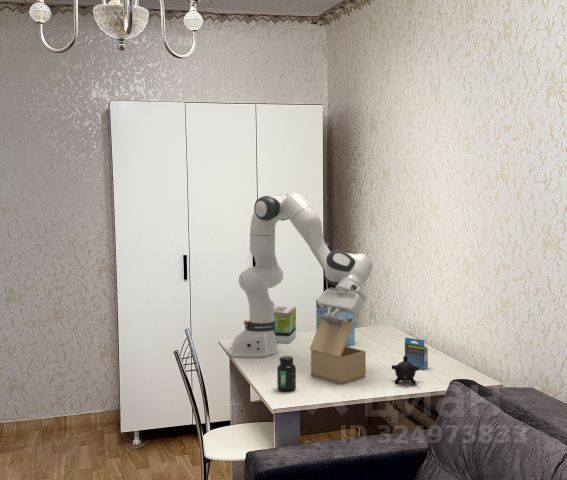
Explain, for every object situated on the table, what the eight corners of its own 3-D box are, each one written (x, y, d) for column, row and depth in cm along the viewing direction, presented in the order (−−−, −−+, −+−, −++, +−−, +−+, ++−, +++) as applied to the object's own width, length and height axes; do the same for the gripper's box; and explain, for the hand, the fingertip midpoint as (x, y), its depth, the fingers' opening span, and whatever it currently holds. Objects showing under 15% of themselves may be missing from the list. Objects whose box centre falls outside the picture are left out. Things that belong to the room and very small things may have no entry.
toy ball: (384, 378, 266) (386, 362, 277) (404, 397, 267) (405, 379, 278) (405, 362, 262) (405, 346, 273) (425, 380, 263) (425, 364, 274)
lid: (324, 317, 284) (310, 308, 278) (354, 323, 272) (340, 314, 266) (311, 349, 280) (296, 341, 274) (340, 357, 268) (326, 348, 263)
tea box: (290, 343, 333) (290, 312, 332) (269, 342, 335) (269, 311, 334) (296, 336, 348) (296, 306, 346) (276, 335, 350) (275, 305, 348)
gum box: (348, 342, 334) (348, 294, 332) (355, 344, 330) (355, 295, 327) (315, 349, 323) (315, 299, 320) (322, 351, 318) (322, 300, 316)
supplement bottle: (284, 393, 260) (284, 361, 258) (273, 388, 265) (273, 357, 264) (299, 389, 264) (299, 358, 262) (288, 385, 269) (288, 354, 268)
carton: (335, 368, 290) (335, 343, 289) (365, 377, 279) (365, 351, 277) (311, 375, 281) (311, 350, 280) (340, 384, 269) (340, 357, 268)
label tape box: (428, 367, 291) (428, 338, 290) (424, 370, 288) (424, 340, 286) (408, 364, 296) (408, 335, 295) (404, 366, 293) (404, 337, 291)
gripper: (324, 282, 286) (307, 309, 280) (362, 288, 271) (345, 317, 265) (332, 291, 289) (315, 319, 284) (370, 298, 274) (353, 327, 269)
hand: (329, 318), depth 274 cm, fingers closed, pressing on lid
